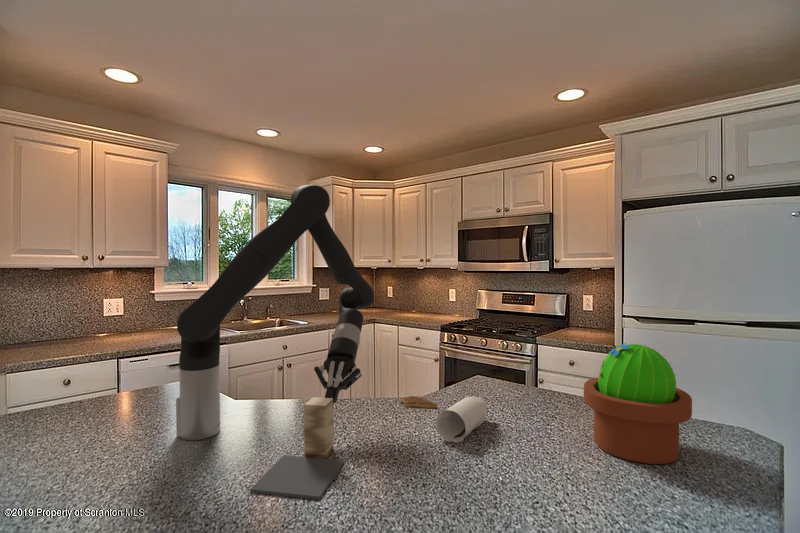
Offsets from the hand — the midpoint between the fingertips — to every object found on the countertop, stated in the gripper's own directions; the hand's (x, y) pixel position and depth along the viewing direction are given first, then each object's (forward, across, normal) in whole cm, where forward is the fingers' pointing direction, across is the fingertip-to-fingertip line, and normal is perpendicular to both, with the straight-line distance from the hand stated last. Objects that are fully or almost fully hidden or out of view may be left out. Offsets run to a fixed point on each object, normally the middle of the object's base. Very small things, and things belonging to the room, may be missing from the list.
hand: (329, 403), depth 102 cm
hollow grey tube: (-2, +32, +15) cm, 35 cm away
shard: (-14, +18, +28) cm, 36 cm away
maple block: (+11, 0, +1) cm, 11 cm away
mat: (+19, 0, -6) cm, 20 cm away
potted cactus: (0, +72, +13) cm, 73 cm away
